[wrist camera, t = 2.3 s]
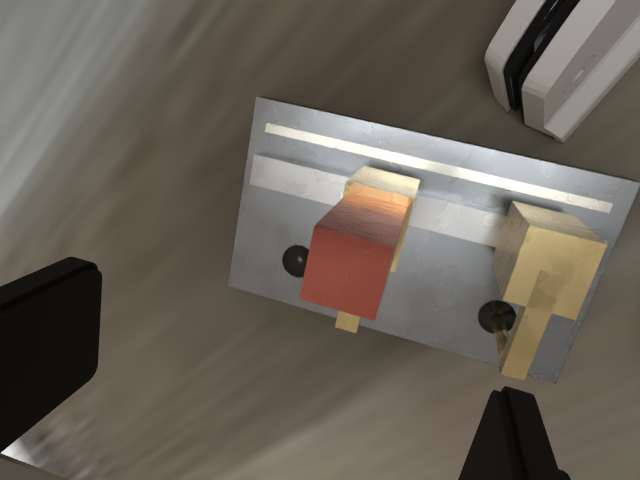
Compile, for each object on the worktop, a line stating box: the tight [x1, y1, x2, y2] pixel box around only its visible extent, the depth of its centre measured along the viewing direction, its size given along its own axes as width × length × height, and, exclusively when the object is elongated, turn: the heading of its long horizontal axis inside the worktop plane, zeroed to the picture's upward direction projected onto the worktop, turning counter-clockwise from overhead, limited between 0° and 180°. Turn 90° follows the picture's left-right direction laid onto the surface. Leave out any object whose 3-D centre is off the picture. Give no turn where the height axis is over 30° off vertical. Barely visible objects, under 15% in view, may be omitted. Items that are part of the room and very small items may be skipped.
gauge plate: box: [228, 97, 640, 384], centre depth 29 cm, size 14×24×9 cm, turn 79°
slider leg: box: [299, 166, 420, 333], centre depth 25 cm, size 8×4×14 cm, turn 169°
